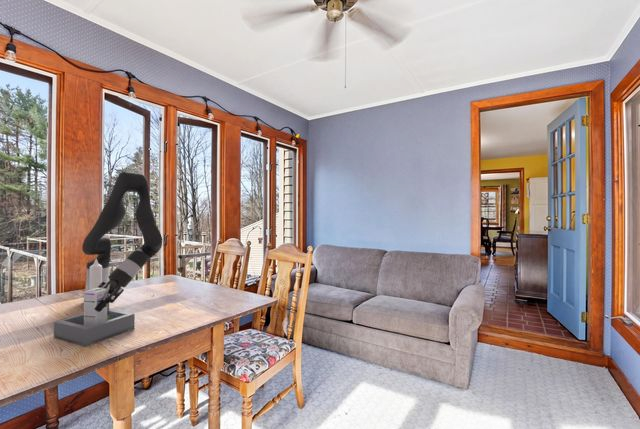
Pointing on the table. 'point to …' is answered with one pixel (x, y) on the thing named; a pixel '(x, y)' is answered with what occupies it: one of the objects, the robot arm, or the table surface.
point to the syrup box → (90, 303)
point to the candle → (95, 275)
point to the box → (93, 328)
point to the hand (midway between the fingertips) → (92, 308)
